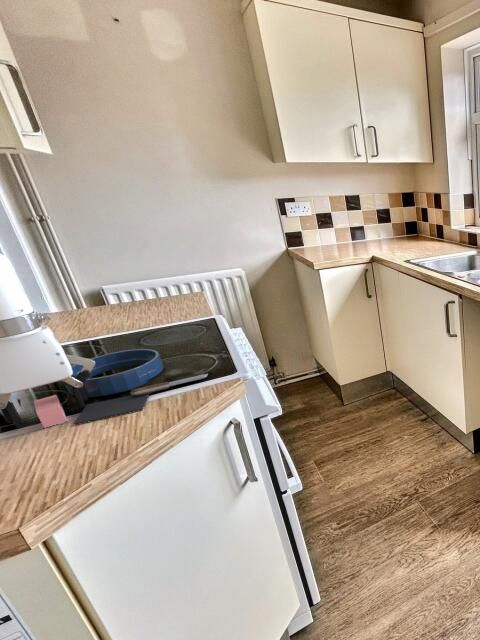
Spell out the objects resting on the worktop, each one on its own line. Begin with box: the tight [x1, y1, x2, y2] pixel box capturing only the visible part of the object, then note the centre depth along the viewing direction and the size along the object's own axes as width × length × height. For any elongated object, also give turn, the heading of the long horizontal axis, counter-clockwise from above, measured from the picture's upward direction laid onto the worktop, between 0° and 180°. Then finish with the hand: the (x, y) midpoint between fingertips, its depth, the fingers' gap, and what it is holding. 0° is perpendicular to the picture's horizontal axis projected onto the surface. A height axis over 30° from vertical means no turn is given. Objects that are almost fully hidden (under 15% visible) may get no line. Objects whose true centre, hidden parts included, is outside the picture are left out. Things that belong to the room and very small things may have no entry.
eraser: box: [33, 394, 68, 429], centre depth 79 cm, size 3×6×4 cm, turn 49°
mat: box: [72, 393, 151, 426], centre depth 83 cm, size 10×8×1 cm
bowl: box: [62, 348, 165, 398], centre depth 93 cm, size 16×16×4 cm
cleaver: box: [129, 373, 209, 396], centre depth 91 cm, size 13×2×5 cm
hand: (51, 413), depth 79 cm, fingers open, 7 cm apart
